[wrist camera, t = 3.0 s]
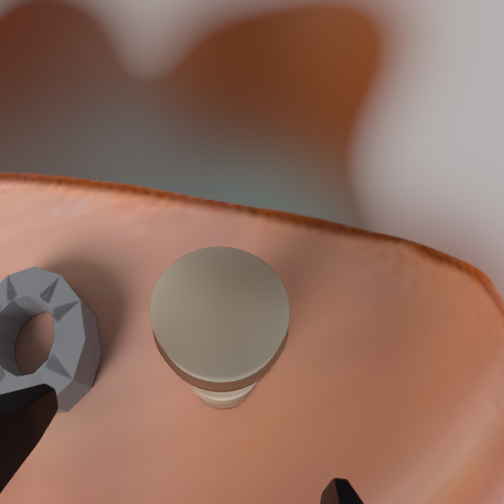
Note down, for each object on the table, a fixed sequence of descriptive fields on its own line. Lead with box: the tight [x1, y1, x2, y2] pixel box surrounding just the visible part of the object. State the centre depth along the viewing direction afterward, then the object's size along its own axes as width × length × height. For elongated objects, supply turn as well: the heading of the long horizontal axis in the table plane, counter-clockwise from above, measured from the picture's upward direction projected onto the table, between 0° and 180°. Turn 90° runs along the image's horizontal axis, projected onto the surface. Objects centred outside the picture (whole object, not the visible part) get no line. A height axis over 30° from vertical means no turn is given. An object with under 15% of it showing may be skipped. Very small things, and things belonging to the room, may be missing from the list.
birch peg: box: [150, 247, 290, 409], centre depth 13 cm, size 4×4×13 cm
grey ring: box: [0, 267, 102, 413], centre depth 17 cm, size 10×10×3 cm
